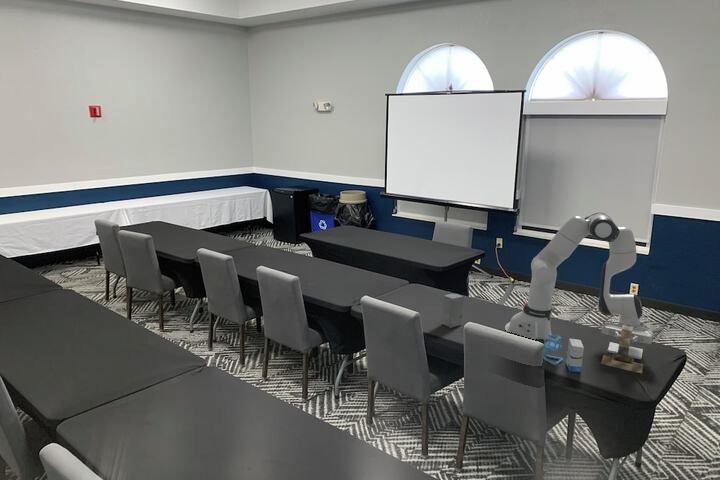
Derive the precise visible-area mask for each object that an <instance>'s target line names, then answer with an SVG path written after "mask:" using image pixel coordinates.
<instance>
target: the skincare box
mask: <svg viewBox="0 0 720 480" xmlns="http://www.w3.org/2000/svg"><path fill="white" fill-rule="evenodd" d="M463 304H464V296H463V295H460V294H457V293H449V294H444V295H443V301H442V323H441V325H444V326H446V327H448V328H450V329H452V328H454V327H458V326H462V321H463V316H462V315H463Z"/></svg>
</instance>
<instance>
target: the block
mask: <svg viewBox="0 0 720 480" xmlns="http://www.w3.org/2000/svg"><path fill="white" fill-rule="evenodd" d="M632 329H633V327H629V326H625V325H623V326H622V330H621V336H620V340H619V343H618V344H619V348H618V355H623V356H627V357H628V352H629V347H631V342H630V340H631V335H632Z"/></svg>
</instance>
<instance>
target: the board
mask: <svg viewBox="0 0 720 480" xmlns="http://www.w3.org/2000/svg"><path fill="white" fill-rule="evenodd" d="M618 348H619V343H615V342H611V341H610V342H609V345H608V349H607V353H611V354H614V352H616V353H618ZM643 350H644V349H643V348H639V347H634V346H630V347H629V352H628V355H629V356H634V359H638V360H642V358H643Z"/></svg>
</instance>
